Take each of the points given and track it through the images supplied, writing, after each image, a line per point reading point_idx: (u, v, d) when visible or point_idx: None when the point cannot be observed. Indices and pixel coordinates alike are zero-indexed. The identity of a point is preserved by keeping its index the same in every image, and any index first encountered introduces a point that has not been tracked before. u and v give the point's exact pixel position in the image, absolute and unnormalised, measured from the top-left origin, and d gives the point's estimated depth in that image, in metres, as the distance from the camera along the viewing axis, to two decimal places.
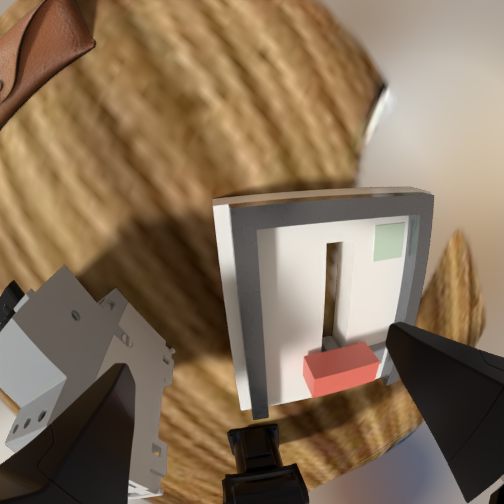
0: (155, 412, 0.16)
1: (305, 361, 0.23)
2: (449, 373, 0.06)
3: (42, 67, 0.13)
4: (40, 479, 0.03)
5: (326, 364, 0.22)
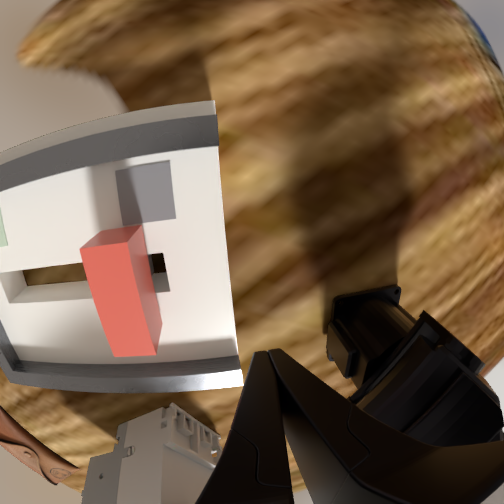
0: (157, 484, 0.15)
1: None
2: (303, 426, 0.05)
3: (12, 430, 0.21)
4: (276, 493, 0.03)
5: None
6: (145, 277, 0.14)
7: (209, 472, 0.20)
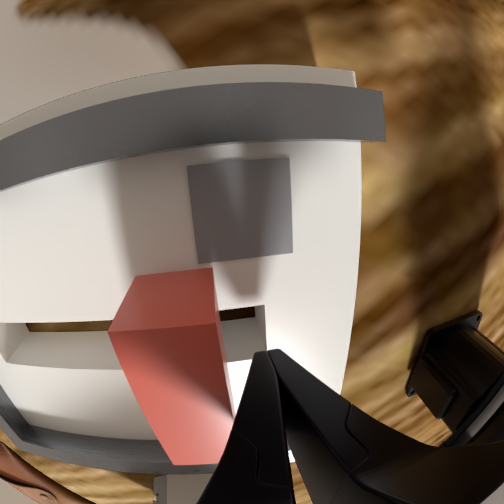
0: None
1: None
2: (302, 427, 0.05)
3: (24, 473, 0.15)
4: (277, 493, 0.03)
5: None
6: (224, 357, 0.08)
7: None
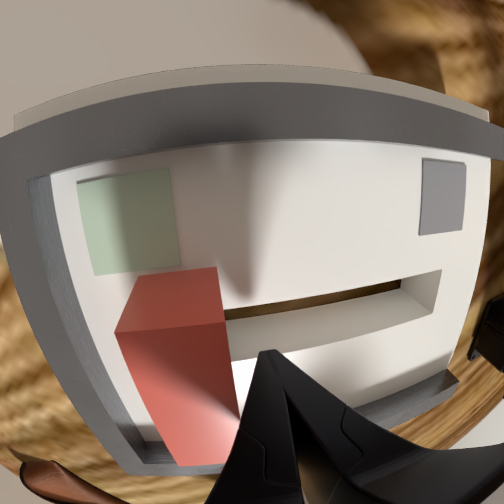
0: None
1: None
2: (297, 427, 0.05)
3: (80, 492, 0.16)
4: (286, 492, 0.03)
5: None
6: None
7: None
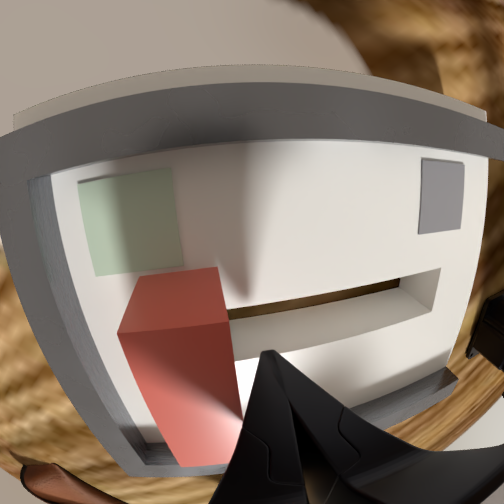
0: None
1: None
2: (295, 428, 0.05)
3: (82, 495, 0.16)
4: (290, 491, 0.03)
5: None
6: None
7: None
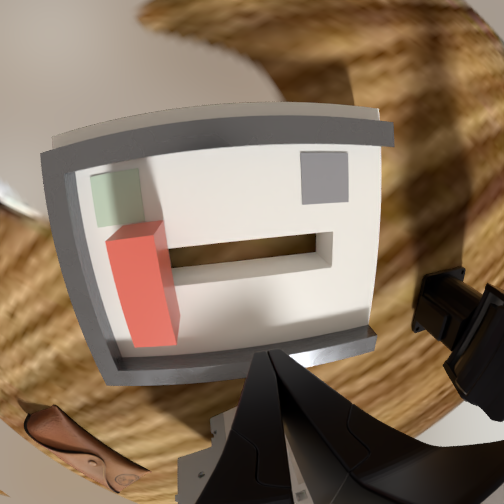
0: None
1: None
2: (303, 426, 0.05)
3: (75, 437, 0.23)
4: (276, 494, 0.03)
5: None
6: (167, 270, 0.14)
7: None
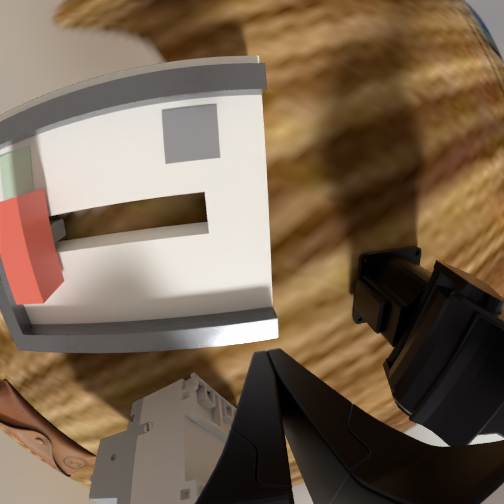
0: (179, 458, 0.15)
1: None
2: (303, 426, 0.05)
3: (23, 413, 0.21)
4: (276, 494, 0.03)
5: None
6: (40, 232, 0.13)
7: None
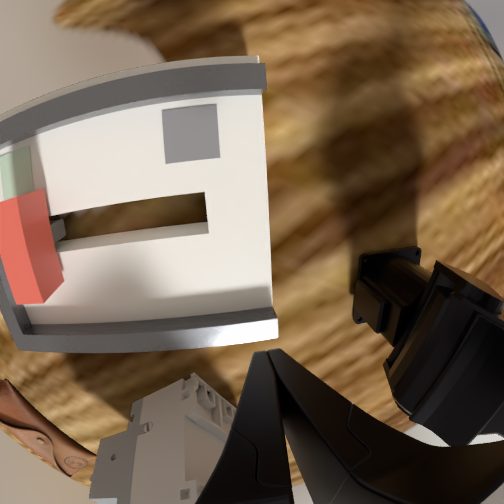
0: (179, 458, 0.15)
1: None
2: (303, 426, 0.05)
3: (24, 413, 0.21)
4: (276, 494, 0.03)
5: None
6: (40, 232, 0.13)
7: None
